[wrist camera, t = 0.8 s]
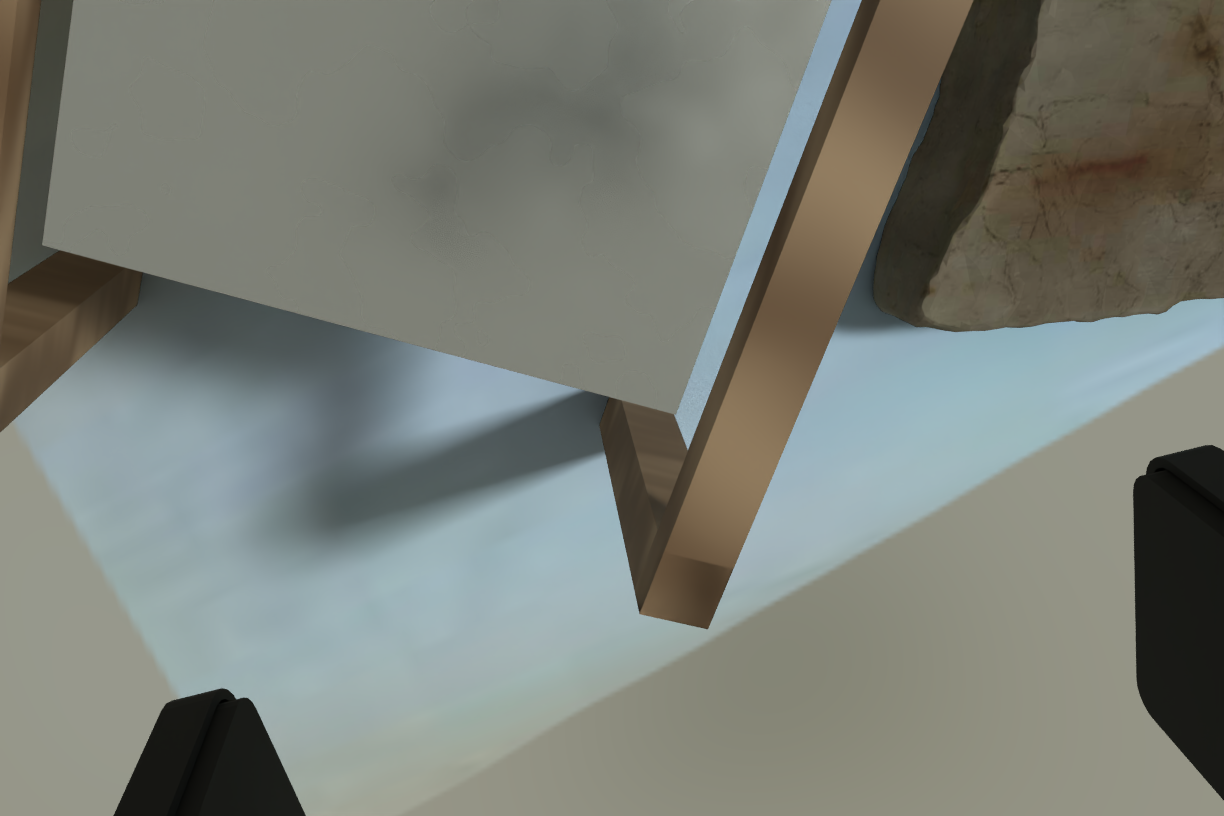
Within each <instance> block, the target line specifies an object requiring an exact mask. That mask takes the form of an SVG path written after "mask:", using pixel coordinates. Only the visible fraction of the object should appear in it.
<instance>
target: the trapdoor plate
mask: <svg viewBox="0 0 1224 816" xmlns="http://www.w3.org/2000/svg"><path fill="white" fill-rule="evenodd" d="M830 3H831V0H73V8H72V16H71V24H70V32H69V39H68V47H67V55H66V63H65V71H64V78H63V86H62V94H61V102H60V109H59V117H58V125H57V133H56V141H55V148H54V156H53V164H52V172H51V180H50V187H49V195H48V203H47V211H46V218H45V226H44V234H43V242H42V245H43V246H47V247H50V248H54V249H58V250H61V251H65V252H69V253H73V254H76V255H80V256H84V257H88V258H91V259H95V260H99V261H103V262H106V263H110V264H114V265H118V266H121V267H125V268H129V269H133V270H136V271H140V272H144V273H148V274H151V275H155V276H159V277H162V278H166V279H170V280H174V281H177V282H181V283H185V284H189V285H192V286H196V287H200V288H204V289H207V290H211V291H215V292H219V293H222V294H226V295H230V296H234V297H237V298H241V299H245V300H249V301H252V302H256V303H260V304H263V305H267V306H271V307H275V308H278V309H282V310H286V311H290V312H293V313H297V314H301V315H305V316H308V317H312V318H316V319H320V320H323V321H327V322H331V323H335V324H338V325H342V326H346V327H350V328H353V329H357V330H361V331H365V332H368V333H372V334H376V335H379V336H383V337H387V338H391V339H394V340H398V341H402V342H406V343H409V344H413V345H417V346H421V347H424V348H428V349H432V350H436V351H439V352H443V353H447V354H451V355H454V356H458V357H462V358H466V359H469V360H473V361H477V362H480V363H484V364H488V365H492V366H495V367H499V368H503V369H507V370H510V371H514V372H518V373H522V374H525V375H529V376H533V377H537V378H540V379H544V380H548V381H552V382H555V383H559V384H563V385H567V386H570V387H574V388H578V389H581V390H585V391H589V392H593V393H596V394H600V395H604V396H608V397H611V398H615V399H619V400H623V401H626V402H630V403H634V404H638V405H641V406H645V407H649V408H653V409H656V410H660V411H664V412H668V413H671V414H675V415H676V413H677V410H678V407H679V405H680V402H681V399H682V397H683V394H684V391H685V389H686V386H687V383H688V381H689V378H690V375H691V373H692V370H693V367H694V365H695V362H696V359H697V357H698V354H699V351H700V349H701V346H702V343H703V341H704V338H705V335H706V333H707V330H708V327H709V325H710V322H711V319H712V317H713V314H714V312H715V309H716V306H717V304H718V301H719V298H720V296H721V293H722V290H723V288H724V285H725V282H726V280H727V277H728V274H729V272H730V269H731V266H732V264H733V261H734V258H735V256H736V253H737V250H738V248H739V245H740V242H741V240H742V237H743V234H744V232H745V229H746V226H747V224H748V221H749V218H750V216H751V213H752V210H753V208H754V205H755V202H756V200H757V197H758V194H759V192H760V189H761V187H762V184H763V181H764V179H765V176H766V173H767V171H768V168H769V165H770V163H771V160H772V157H773V155H774V152H775V149H776V147H777V144H778V141H779V139H780V136H781V133H782V131H783V128H784V125H785V123H786V120H787V117H788V115H789V112H790V109H791V107H792V104H793V101H794V99H795V96H796V93H797V91H798V88H799V85H800V83H801V80H802V77H803V75H804V72H805V69H806V67H807V64H808V62H809V59H810V56H811V54H812V51H813V48H814V46H815V43H816V40H817V38H818V35H819V32H820V30H821V27H822V24H823V22H824V19H825V16H826V14H827V11H828V8H829V6H830Z"/></svg>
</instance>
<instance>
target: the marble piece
mask: <svg viewBox="0 0 1224 816" xmlns="http://www.w3.org/2000/svg"><path fill="white" fill-rule="evenodd" d="M873 295H874V301H875V303H876V305H877V306H878V307H879V308H880V310H881V311H882V312H885V313H888V314H890V315H893V316H895V317H897V318H899V319H901V320H903V321H906V322H908V323H909V324H911V325H913V326H915V327H930V328H935V329H940V330H945V331H952V332H963V331H986V330H993V329H999V328H1004V327H1012V328H1023V327H1032V326H1036V325H1041V324H1045V323H1055V322H1066V321H1077V322H1094V321H1097V320H1100V319H1105V318H1111V317H1126V316H1131V315H1137V314H1148V313H1149V314H1160V313H1163V312H1166V311H1167V310H1169V309H1170V308H1171V307H1172V306H1173V305H1175V304H1177V303H1179V302H1180V301H1187V300H1194V299H1216V298H1224V0H973V3H972V5H971V7H970V10H969V12H968V15H967V17H966V19H965V22H964V24H963V26H962V29H961V31H960V34H959V36H958V38H957V41H956V43H955V45H954V48H953V50H952V52H951V55H950V57H949V60H948V62H947V64H946V67H945V69H944V71H943V74H942V80H941V84H940V97H939V99H938V102H937V104H936V106H935V109H934V114H933V117H932V119H931V122H930V124H929V127H928V129H927V132H926V134H925V137H924V139H923V142H922V143H921V145H920V146H919V147H918V149H917V151H916V152H915V154H914V155H913V157H912V160H911V163H910V166H909V169H908V173H907V177H906V179H905V181H904V183H903V185H902V188H901V191H900V193H899V195H898V198H897V200H896V202H895V204H894V206H893V208H892V210H891V212H890V214H889V216H888V219H887V222H886V224H885V227H884V231H883V235H882V241H881V245H880V248H879V251H878V254H877V261H876V268H875V272H874V284H873Z"/></svg>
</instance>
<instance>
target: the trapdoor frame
mask: <svg viewBox="0 0 1224 816" xmlns="http://www.w3.org/2000/svg"><path fill="white" fill-rule="evenodd" d="M972 3H973V0H862V1H861V4H860V7H859V9H858V12H857V14H856V17H855V19H854V22H853V25H852V27H851V30H850V32H849V35H848V38H847V40H846V43H845V45H844V48H843V51H842V53H841V56H840V58H839V61H838V64H837V66H836V69H835V71H834V74H833V76H832V79H831V82H830V84H829V87H828V89H827V92H826V95H825V97H824V100H823V102H822V105H821V108H820V110H819V113H818V115H817V118H816V121H815V123H814V126H813V128H812V131H811V133H810V136H809V139H808V141H807V144H806V146H805V149H804V152H803V154H802V157H801V159H800V162H799V165H798V167H797V170H796V172H795V175H794V178H793V180H792V183H791V185H790V188H789V190H788V193H787V196H786V198H785V201H784V203H783V206H782V209H781V211H780V214H779V216H778V219H777V222H776V224H775V227H774V229H773V232H772V235H771V237H770V240H769V242H768V245H767V247H766V250H765V253H764V255H763V258H762V260H761V263H760V266H759V268H758V271H757V273H756V276H755V279H754V281H753V284H752V286H751V289H750V292H749V294H748V297H747V299H746V302H745V304H744V307H743V310H742V312H741V315H740V317H739V320H738V323H737V325H736V328H735V330H734V333H733V336H732V338H731V341H730V343H729V346H728V349H727V351H726V354H725V356H724V359H723V361H722V364H721V367H720V369H719V372H718V374H717V377H716V380H715V382H714V385H713V387H712V390H711V393H710V395H709V398H708V400H707V403H706V406H705V408H704V411H703V413H702V416H701V419H700V421H699V424H698V426H697V429H696V431H695V434H694V437H693V439H692V442H691V444H690V447H689V450H687V447H686V445H685V442H684V439H683V437H682V434H681V432H680V429H679V426H678V424H677V421H676V419H675V416H674V414H671V413H668V412H664V411H660V410H656V409H653V408H649V407H645V406H641V405H638V404H634V403H630V402H626V401H623V400H619V399H615V398H611V397H609V399H608V402H607V405H606V408H605V410H604V413H603V416H602V419H601V422H600V425H599V426H600V431H601V436H602V440H603V445H604V450H605V454H606V459H607V464H608V468H609V473H610V478H611V482H612V487H613V492H614V496H615V501H616V506H617V510H618V515H619V520H620V524H621V529H622V534H623V539H624V543H625V548H626V553H627V557H628V562H629V567H630V571H631V576H632V581H633V585H634V590H635V595H636V599H637V604H638V609H639V613H640V614H642V615H646V616H651V617H655V618H660V619H664V620H669V621H673V622H678V623H682V624H687V625H691V626H696V627H700V628H705V629H708V628H709V625H710V623H711V621H712V618H713V616H714V614H715V611H716V609H717V606H718V604H719V602H720V599H721V597H722V595H723V592H724V590H725V588H726V585H727V583H728V580H729V578H730V576H731V573H732V571H733V569H734V566H735V564H736V561H737V559H738V557H739V554H740V552H741V550H742V547H743V545H744V543H745V540H746V538H747V535H748V533H749V531H750V528H751V526H752V524H753V521H754V519H755V516H756V514H757V512H758V509H759V507H760V505H761V502H762V500H763V498H764V495H765V493H766V490H767V488H768V486H769V483H770V481H771V479H772V476H773V474H774V472H775V469H776V467H777V464H778V462H779V460H780V457H781V455H782V453H783V450H784V448H785V445H786V443H787V441H788V438H789V436H790V434H791V431H792V429H793V427H794V424H795V422H796V419H797V417H798V415H799V412H800V410H801V408H802V405H803V403H804V400H805V398H806V396H807V393H808V391H809V389H810V386H811V384H812V382H813V379H814V377H815V374H816V372H817V370H818V367H819V365H820V363H821V360H822V358H823V356H824V353H825V351H826V348H827V346H828V344H829V341H830V339H831V337H832V334H833V332H834V329H835V327H836V325H837V322H838V320H839V318H840V315H841V313H842V311H843V308H844V306H845V303H846V301H847V299H848V296H849V294H850V292H851V289H852V287H853V284H854V282H855V280H856V277H857V275H858V273H859V270H860V268H861V266H862V263H863V261H864V258H865V256H866V254H867V251H868V249H869V247H870V244H871V242H872V239H873V237H874V235H875V232H876V230H877V228H878V225H879V223H880V221H881V218H882V216H883V213H884V211H885V209H886V206H887V204H888V202H889V199H890V197H891V195H892V192H893V190H894V187H895V185H896V183H897V180H898V178H899V176H900V173H901V171H902V168H903V166H904V164H905V161H906V159H907V157H908V154H909V152H910V150H911V147H912V145H913V142H914V140H915V138H916V135H917V133H918V131H919V128H920V126H921V123H922V121H923V119H924V116H925V114H926V112H927V109H928V107H929V105H930V102H931V100H932V97H933V95H934V93H935V90H936V88H937V86H938V83H939V81H940V79H941V76H942V74H943V71H944V69H945V67H946V64H947V62H948V60H949V57H950V55H951V52H952V50H953V48H954V45H955V43H956V41H957V38H958V36H959V34H960V31H961V29H962V26H963V24H964V22H965V19H966V17H967V15H968V12H969V10H970V7H971V5H972ZM40 6H41V0H0V432H1V431H2V430H3V429H4V428H6V427H7V426H8V425H9V424H10V423H11V422H12V421H13V420H14V419H15V418H16V417H17V416H18V415H20V414H21V413H22V412H23V411H24V410H25V409H26V408H27V407H28V406H29V405H30V404H31V403H32V402H33V401H35V400H36V399H37V398H38V397H39V396H40V395H41V394H42V393H43V392H44V391H45V390H46V389H47V388H49V387H50V386H51V385H52V384H53V383H54V382H55V381H56V380H57V379H58V378H59V377H60V376H61V375H62V374H64V373H65V372H66V371H67V370H68V369H69V368H70V367H71V366H72V365H73V364H74V363H75V362H76V361H78V360H79V359H80V358H81V357H82V356H83V355H84V354H85V353H86V352H87V351H88V350H89V349H90V348H91V347H93V346H94V345H95V344H96V343H97V342H98V341H99V340H100V339H101V338H102V337H103V336H104V335H105V334H107V333H108V332H109V331H110V330H111V329H112V328H113V327H114V326H115V325H116V324H117V323H118V322H119V321H120V320H122V319H123V318H124V317H125V316H126V315H127V314H128V313H129V312H130V311H131V310H132V309H133V308H134V307H136V306H137V303H138V297H139V291H140V285H141V279H142V273H143V272H140V271H136V270H133V269H129V268H125V267H121V266H118V265H114V264H110V263H106V262H103V261H99V260H95V259H91V258H88V257H84V256H80V255H76V254H73V253H69V252H65V251H61V250H60V251H58V252H57V253H55V254H53V255H52V256H50V257H49V258H47V259H46V260H44V261H43V262H41V263H40V264H38V265H36V266H35V267H33V268H32V269H30V270H29V271H27V272H26V273H24V274H22V275H21V276H19V277H18V278H16V279H15V280H13V281H12V282H10V283H8V278H9V269H10V261H11V252H12V244H13V235H14V227H15V218H16V210H17V202H18V193H19V185H20V176H21V168H22V159H23V151H24V142H25V134H26V125H27V117H28V108H29V100H30V91H31V83H32V74H33V66H34V57H35V49H36V40H37V32H38V23H39V15H40Z"/></svg>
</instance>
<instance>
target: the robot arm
mask: <svg viewBox="0 0 1224 816" xmlns="http://www.w3.org/2000/svg"><path fill="white" fill-rule="evenodd" d="M1133 501H1134V502H1133V505H1134V560H1135V618H1136V673H1137V686H1138V690H1139V693H1140V696H1141V699H1142V701H1143V703H1144V705H1145V707H1146V709H1147V711H1148V713H1149V714H1150V715H1151V717H1152V718H1153V719H1154V720H1155V721H1156V723H1157V724H1158V725H1159V726H1160V727H1161V728H1162V730H1163V731H1164V732H1165V733H1166V734H1167V735H1168V736H1169V738H1170V739H1171V740H1172V741H1173V742H1174V743H1175V745H1176V746H1177V747H1178V748H1179V749H1180V750H1181V752H1182V753H1183V754H1184V755H1185V756H1186V757H1187V759H1188V760H1189V761H1190V762H1191V763H1192V764H1193V765H1194V767H1195V768H1196V769H1197V770H1198V771H1199V772H1200V773H1201V775H1202V776H1203V777H1204V778H1205V779H1206V780H1207V782H1208V783H1209V784H1210V785H1211V786H1212V787H1213V789H1214V790H1215V791H1216V792H1217V793H1218V794H1219V795H1220V796H1221V798H1222V799H1223V800H1224V451H1223V450H1222V449H1220V448H1218V447H1215V446H1213V445H1205V446H1201V447H1197V448H1193V449H1189V450H1185V451H1181V452H1177V453H1173V454H1169V455H1164V456H1161V457H1156V458H1154V459H1153V460H1152V461H1150V463H1149V465H1148V467H1147V471H1146V475H1143V476H1140V477H1138V478H1137V479H1136V481H1135V483H1134V489H1133ZM114 816H306V815H305V813H304V811H303V809H302V807H301V804H300V802H299V800H298V798H297V796H296V794H295V791H294V789H293V787H292V785H291V783H290V781H289V778H288V776H287V774H286V772H285V770H284V768H283V766H282V763H281V761H280V759H279V757H278V755H277V753H276V750H275V748H274V746H273V744H272V742H271V740H270V738H269V735H268V733H267V731H266V729H265V727H264V725H263V722H262V720H261V718H260V716H259V714H258V712H257V710H256V708H255V706H254V704H253V703H252V701H251V700H249V699H248V698H240V699H236V698H235V697H234V695H233V694H232V693H231V692H230V691H229V690H227V689H223V688H222V689H217V690H213V691H209V692H205V693H201V694H197V695H193V696H189V697H185V698H181V699H177V700H173V701H170V702H169V703H167V704H166V705H165V706H164V708H163V709H162V711H161V713H160V715H159V717H158V719H157V722H156V724H155V726H154V728H153V730H152V732H151V735H150V737H149V739H148V741H147V743H146V746H145V748H144V750H143V753H142V754H141V757H140V759H139V761H138V763H137V765H136V768H135V770H134V772H133V774H132V777H131V779H130V781H129V783H128V785H127V787H126V790H125V792H124V794H123V796H122V798H121V801H120V803H119V805H118V807H117V810H116V811H115V814H114Z"/></svg>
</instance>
